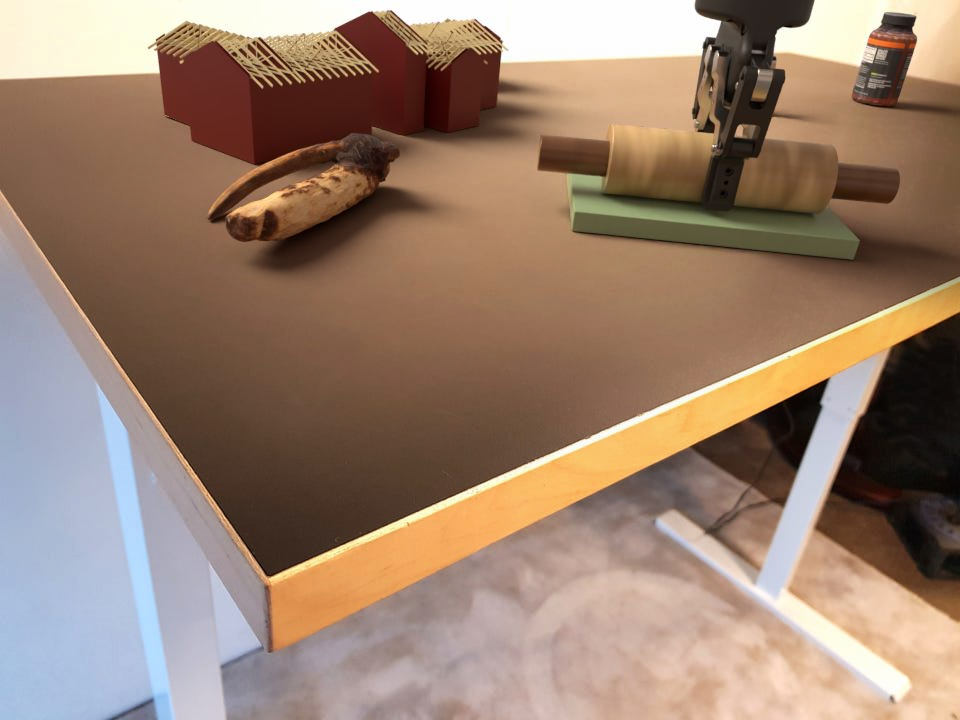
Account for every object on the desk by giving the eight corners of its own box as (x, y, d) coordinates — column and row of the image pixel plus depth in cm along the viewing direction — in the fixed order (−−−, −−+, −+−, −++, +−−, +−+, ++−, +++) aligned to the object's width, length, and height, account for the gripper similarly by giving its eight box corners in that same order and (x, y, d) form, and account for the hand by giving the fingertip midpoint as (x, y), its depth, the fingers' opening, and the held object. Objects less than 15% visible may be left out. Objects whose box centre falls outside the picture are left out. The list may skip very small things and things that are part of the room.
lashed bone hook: (312, 174, 63) (151, 240, 48) (309, 114, 61) (140, 164, 46) (417, 193, 61) (281, 270, 46) (418, 130, 58) (276, 190, 43)
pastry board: (784, 182, 71) (789, 166, 71) (853, 260, 56) (860, 240, 55) (564, 159, 72) (566, 143, 71) (571, 231, 56) (574, 211, 55)
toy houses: (277, 172, 62) (270, 34, 57) (128, 116, 72) (111, -6, 67) (579, 101, 93) (592, 8, 88) (446, 69, 104) (451, -16, 99)
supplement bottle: (889, 100, 111) (918, 13, 106) (901, 109, 106) (932, 19, 100) (845, 95, 112) (872, 9, 106) (854, 104, 107) (883, 13, 101)
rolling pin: (867, 212, 61) (886, 146, 59) (895, 227, 57) (917, 156, 55) (534, 180, 62) (542, 113, 60) (535, 193, 57) (544, 121, 55)
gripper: (867, -48, 45) (784, 236, 53) (794, -59, 57) (736, 172, 66) (734, -60, 45) (672, 225, 53) (690, -69, 57) (646, 164, 66)
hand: (708, 195), depth 59 cm, fingers closed on rolling pin, 5 cm apart
